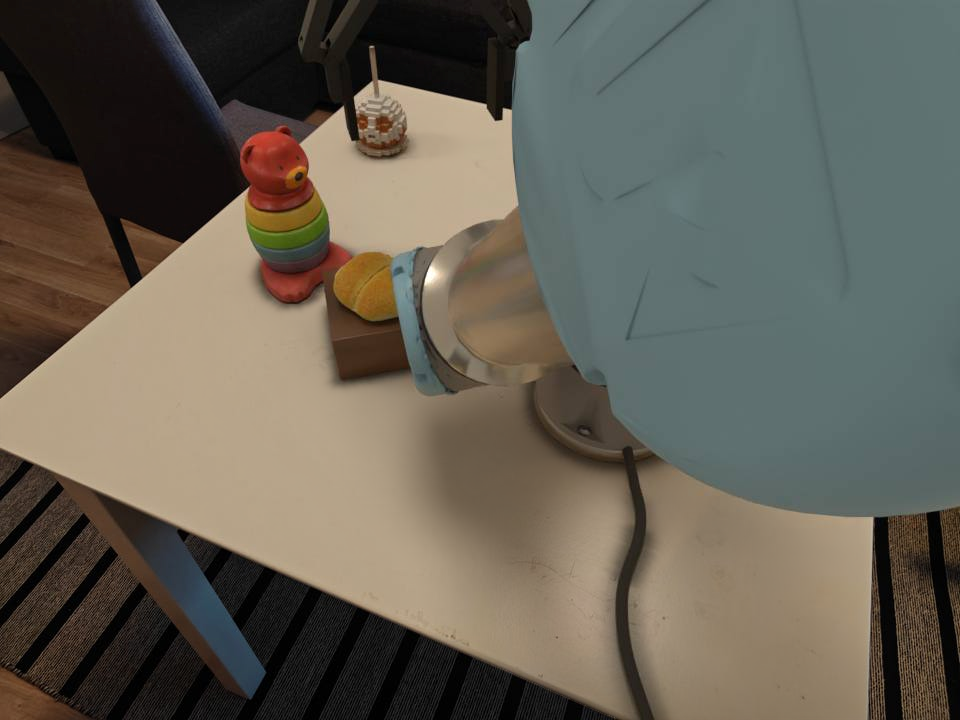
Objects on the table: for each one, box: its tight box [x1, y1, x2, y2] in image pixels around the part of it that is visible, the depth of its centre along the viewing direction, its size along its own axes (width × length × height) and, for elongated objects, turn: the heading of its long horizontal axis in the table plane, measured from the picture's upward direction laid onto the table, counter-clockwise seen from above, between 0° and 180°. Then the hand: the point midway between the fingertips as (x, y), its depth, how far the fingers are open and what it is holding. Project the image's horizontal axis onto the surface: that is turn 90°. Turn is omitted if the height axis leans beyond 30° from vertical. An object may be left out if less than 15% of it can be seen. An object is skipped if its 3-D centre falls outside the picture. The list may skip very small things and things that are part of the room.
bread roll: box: [333, 251, 399, 321], centre depth 67 cm, size 8×9×4 cm
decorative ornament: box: [355, 45, 409, 157], centre depth 95 cm, size 8×8×15 cm
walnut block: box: [322, 269, 411, 381], centre depth 71 cm, size 11×11×6 cm
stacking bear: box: [239, 125, 353, 303], centre depth 74 cm, size 11×10×18 cm
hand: (425, 124), depth 61 cm, fingers open, 13 cm apart
